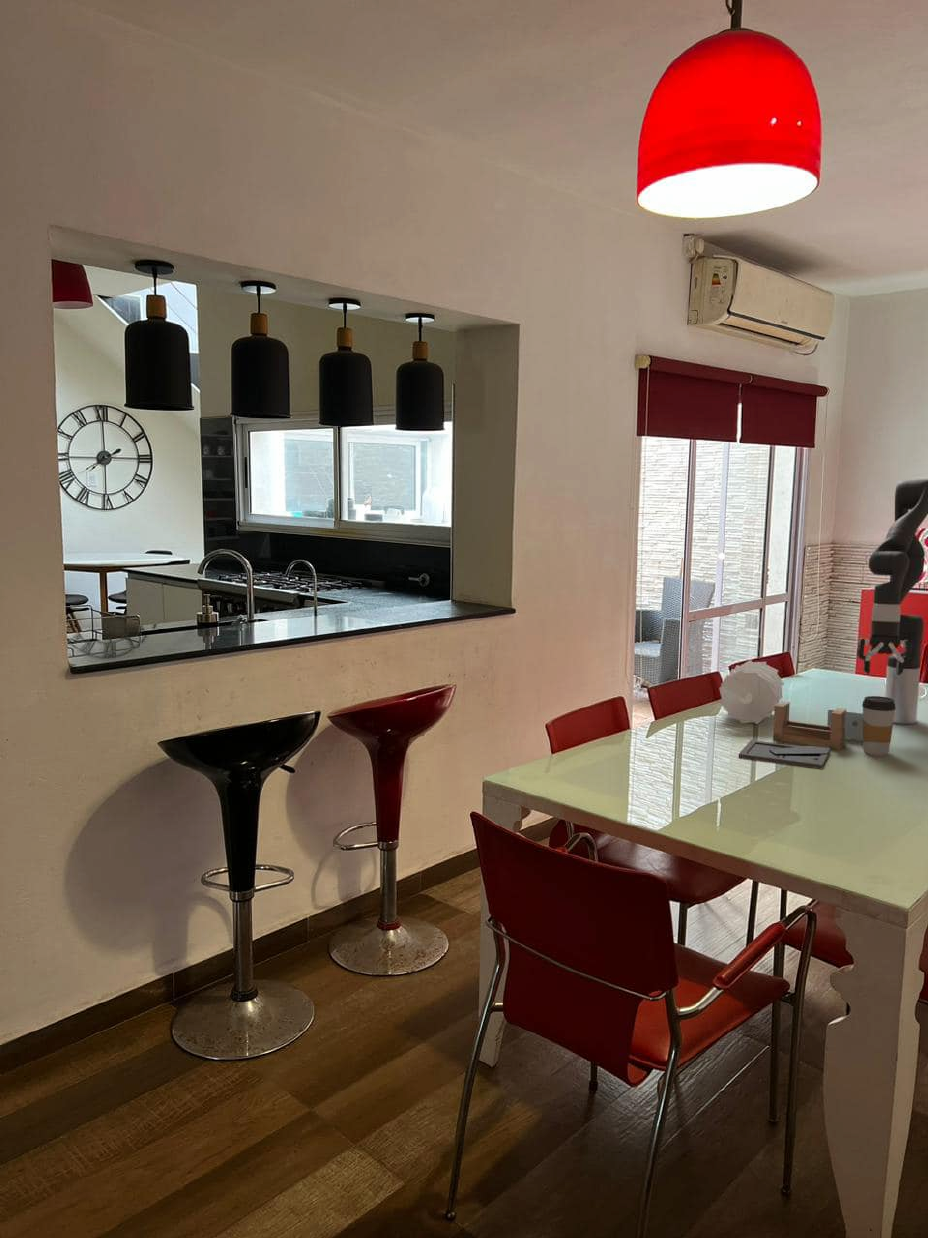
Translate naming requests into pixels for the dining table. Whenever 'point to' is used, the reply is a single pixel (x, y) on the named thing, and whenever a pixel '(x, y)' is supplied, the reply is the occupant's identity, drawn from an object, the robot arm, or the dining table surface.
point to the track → (809, 728)
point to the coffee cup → (877, 724)
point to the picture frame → (786, 753)
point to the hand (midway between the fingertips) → (882, 674)
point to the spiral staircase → (751, 692)
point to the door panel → (851, 723)
